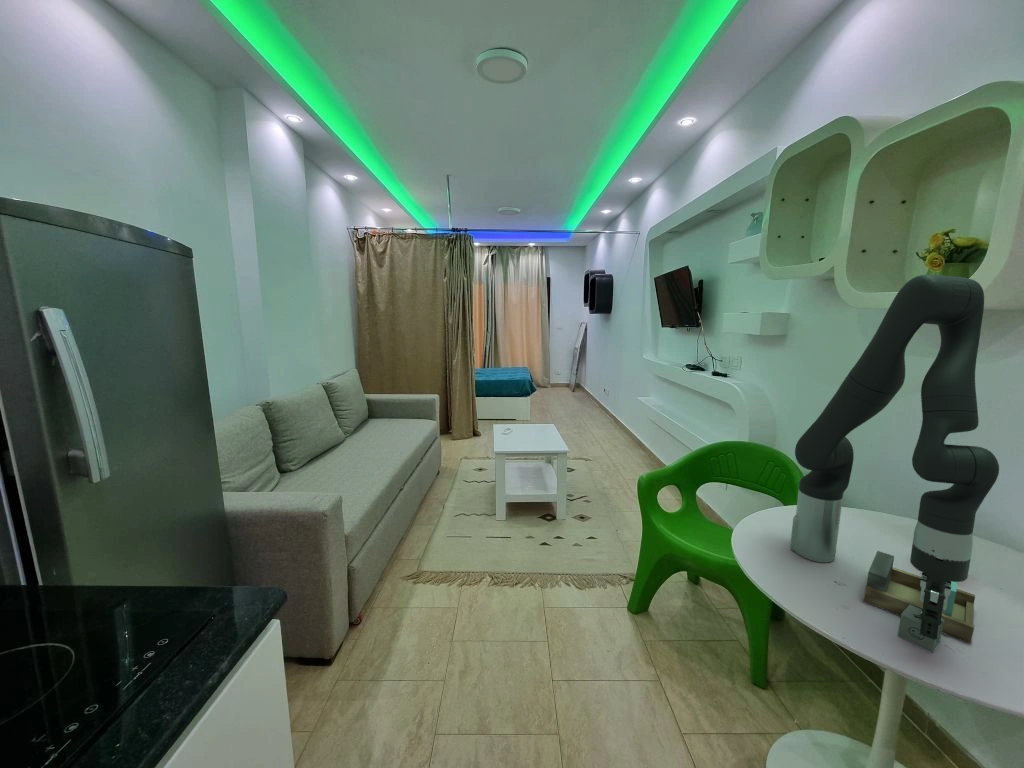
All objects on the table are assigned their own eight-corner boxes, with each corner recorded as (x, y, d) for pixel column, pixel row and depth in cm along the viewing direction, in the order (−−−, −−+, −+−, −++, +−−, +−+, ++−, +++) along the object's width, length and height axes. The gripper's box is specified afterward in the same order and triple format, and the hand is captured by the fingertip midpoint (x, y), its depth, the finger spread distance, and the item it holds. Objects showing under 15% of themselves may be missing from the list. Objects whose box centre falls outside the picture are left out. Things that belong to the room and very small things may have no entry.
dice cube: (897, 636, 81) (901, 614, 80) (906, 625, 84) (909, 604, 83) (932, 653, 77) (936, 630, 76) (940, 642, 79) (944, 619, 79)
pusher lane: (863, 601, 91) (867, 573, 89) (874, 574, 99) (878, 549, 98) (970, 644, 79) (977, 612, 77) (972, 609, 87) (978, 580, 86)
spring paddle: (921, 616, 85) (927, 582, 83) (926, 592, 91) (931, 560, 90) (949, 627, 82) (956, 592, 80) (952, 602, 88) (958, 569, 87)
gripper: (916, 526, 83) (906, 597, 86) (909, 555, 74) (898, 633, 76) (970, 540, 78) (958, 616, 80) (971, 573, 68) (957, 657, 71)
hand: (929, 624), depth 78 cm, fingers open, 8 cm apart
